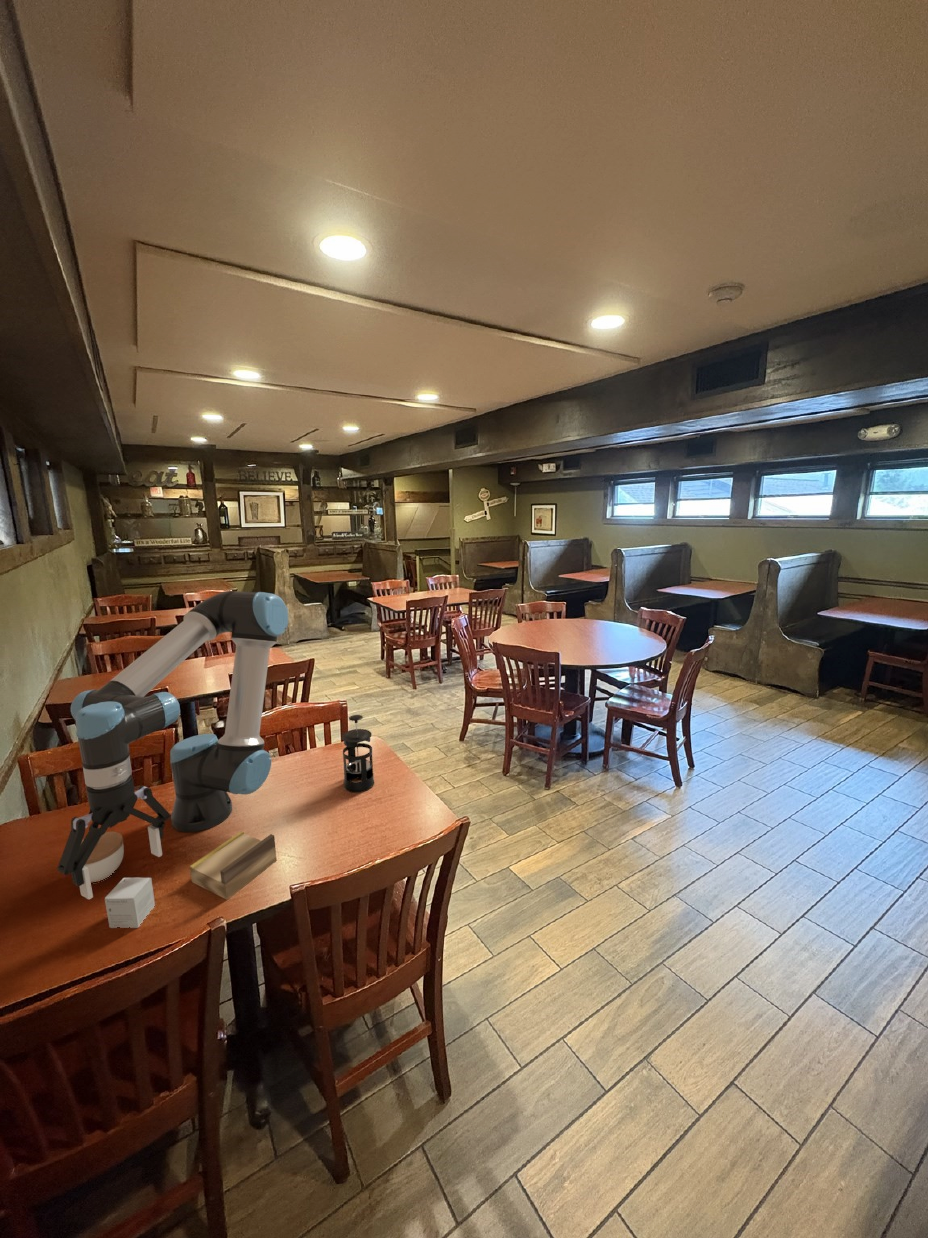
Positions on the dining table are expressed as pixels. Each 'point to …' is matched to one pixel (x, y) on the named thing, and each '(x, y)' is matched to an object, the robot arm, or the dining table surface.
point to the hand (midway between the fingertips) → (124, 874)
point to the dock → (234, 864)
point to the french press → (357, 759)
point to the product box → (130, 902)
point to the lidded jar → (105, 856)
